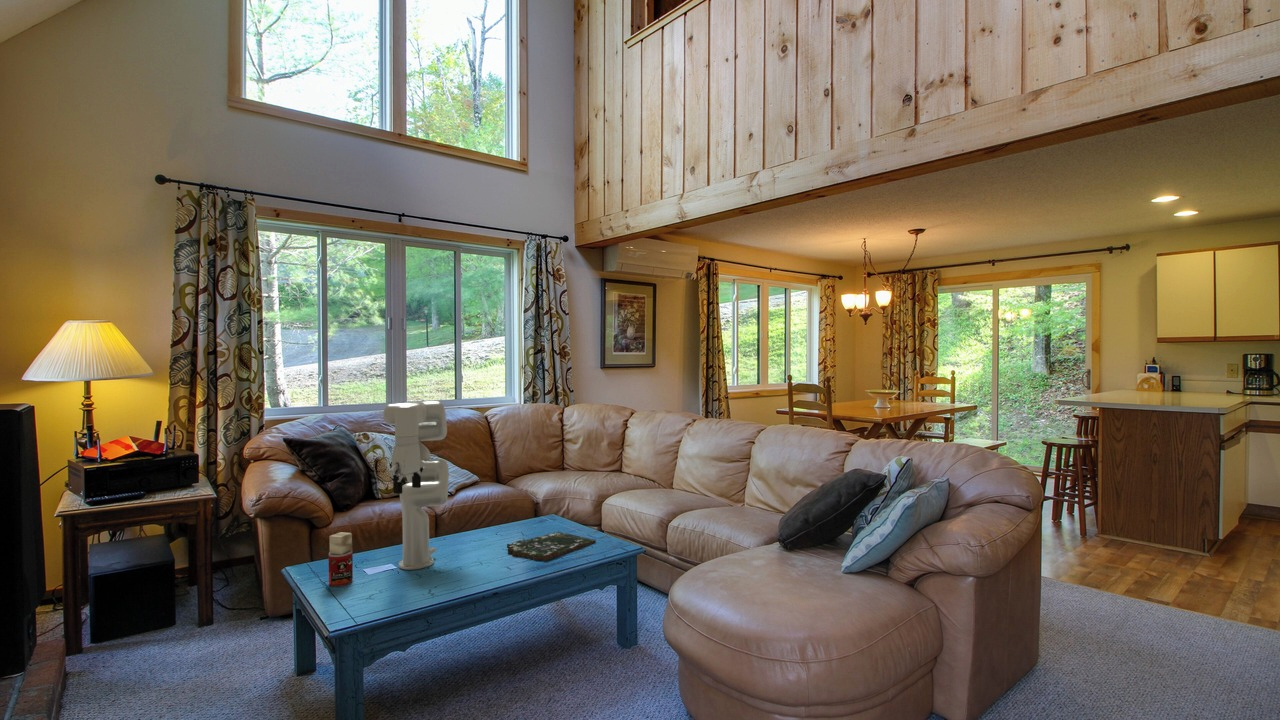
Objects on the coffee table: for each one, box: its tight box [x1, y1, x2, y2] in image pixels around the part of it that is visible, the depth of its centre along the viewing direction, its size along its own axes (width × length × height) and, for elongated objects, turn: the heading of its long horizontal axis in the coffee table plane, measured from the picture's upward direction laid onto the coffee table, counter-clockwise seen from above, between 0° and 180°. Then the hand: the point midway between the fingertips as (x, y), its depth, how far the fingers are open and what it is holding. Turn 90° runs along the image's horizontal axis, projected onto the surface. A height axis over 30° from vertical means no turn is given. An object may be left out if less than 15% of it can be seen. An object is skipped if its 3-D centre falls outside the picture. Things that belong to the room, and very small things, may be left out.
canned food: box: [328, 549, 354, 587], centre depth 214 cm, size 8×8×11 cm
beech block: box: [329, 531, 353, 554], centre depth 214 cm, size 5×5×6 cm
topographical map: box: [506, 531, 597, 563], centre depth 253 cm, size 26×33×3 cm
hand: (407, 490), depth 210 cm, fingers open, 9 cm apart
